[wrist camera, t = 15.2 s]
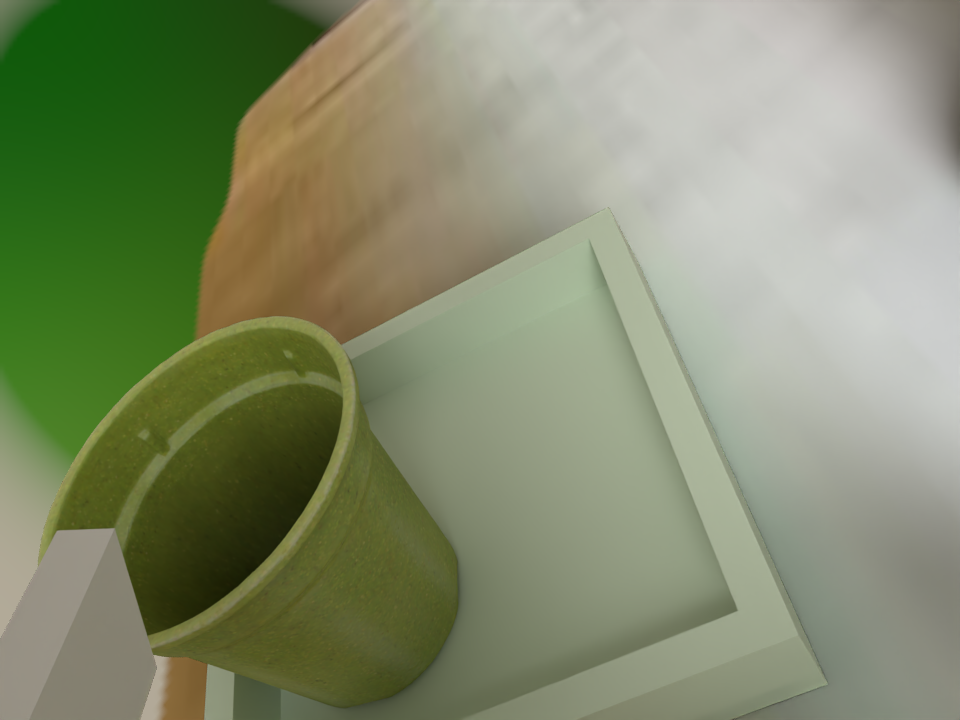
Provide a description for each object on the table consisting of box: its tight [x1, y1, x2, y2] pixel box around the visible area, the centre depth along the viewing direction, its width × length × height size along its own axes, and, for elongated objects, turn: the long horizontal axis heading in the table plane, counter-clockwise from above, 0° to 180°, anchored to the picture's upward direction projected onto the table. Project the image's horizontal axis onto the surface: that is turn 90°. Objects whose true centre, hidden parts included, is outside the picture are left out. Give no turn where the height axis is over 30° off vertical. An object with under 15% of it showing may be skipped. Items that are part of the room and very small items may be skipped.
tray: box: [204, 207, 828, 720], centre depth 28 cm, size 16×16×3 cm
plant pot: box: [38, 316, 458, 708], centre depth 25 cm, size 9×9×9 cm
